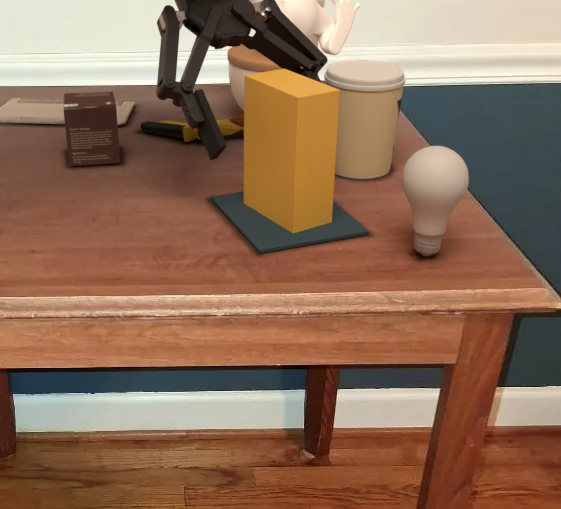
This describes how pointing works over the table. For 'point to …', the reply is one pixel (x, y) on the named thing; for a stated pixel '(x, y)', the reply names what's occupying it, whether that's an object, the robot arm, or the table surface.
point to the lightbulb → (433, 193)
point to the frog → (320, 21)
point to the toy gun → (191, 134)
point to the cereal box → (290, 148)
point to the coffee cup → (366, 116)
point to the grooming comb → (48, 111)
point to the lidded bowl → (246, 69)
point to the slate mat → (275, 237)
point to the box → (91, 128)
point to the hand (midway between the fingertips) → (275, 141)
